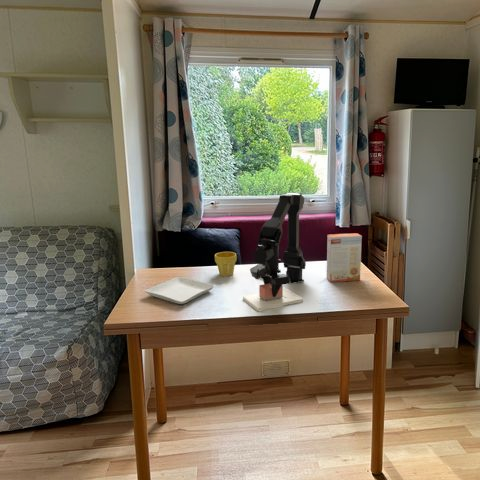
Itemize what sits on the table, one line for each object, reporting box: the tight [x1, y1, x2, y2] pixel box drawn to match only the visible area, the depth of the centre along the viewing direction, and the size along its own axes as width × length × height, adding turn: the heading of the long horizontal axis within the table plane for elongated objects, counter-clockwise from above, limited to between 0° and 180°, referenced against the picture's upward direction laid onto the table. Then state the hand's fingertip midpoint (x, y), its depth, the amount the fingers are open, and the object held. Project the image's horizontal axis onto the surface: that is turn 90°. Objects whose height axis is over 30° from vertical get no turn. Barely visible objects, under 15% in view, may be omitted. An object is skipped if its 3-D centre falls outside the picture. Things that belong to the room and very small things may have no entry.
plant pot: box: [214, 251, 238, 277], centre depth 191 cm, size 10×10×10 cm
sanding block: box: [258, 283, 284, 301], centre depth 158 cm, size 8×4×5 cm, turn 114°
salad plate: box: [144, 276, 215, 305], centre depth 167 cm, size 21×21×3 cm
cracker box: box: [326, 232, 363, 283], centre depth 178 cm, size 14×6×21 cm, turn 94°
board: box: [242, 287, 304, 312], centre depth 159 cm, size 20×13×1 cm, turn 115°
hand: (271, 294), depth 158 cm, fingers closed on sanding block, 4 cm apart
